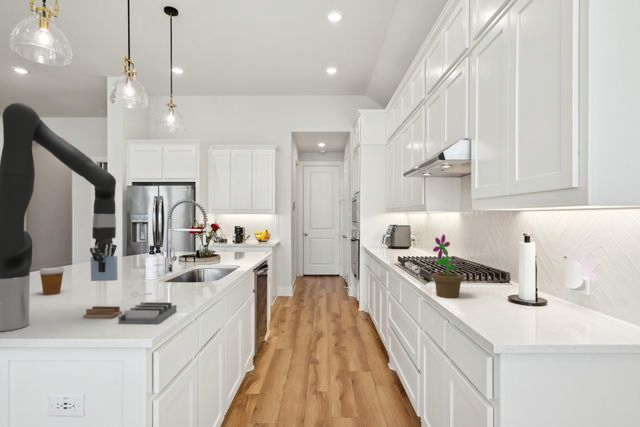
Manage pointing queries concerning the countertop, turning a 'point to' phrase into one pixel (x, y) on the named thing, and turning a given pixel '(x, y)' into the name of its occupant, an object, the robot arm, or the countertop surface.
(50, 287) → the disposable coffee cup
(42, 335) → the countertop surface
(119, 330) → the countertop surface
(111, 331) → the countertop surface
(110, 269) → the plate
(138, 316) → the dish rack
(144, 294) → the scissors
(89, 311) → the plate stand
